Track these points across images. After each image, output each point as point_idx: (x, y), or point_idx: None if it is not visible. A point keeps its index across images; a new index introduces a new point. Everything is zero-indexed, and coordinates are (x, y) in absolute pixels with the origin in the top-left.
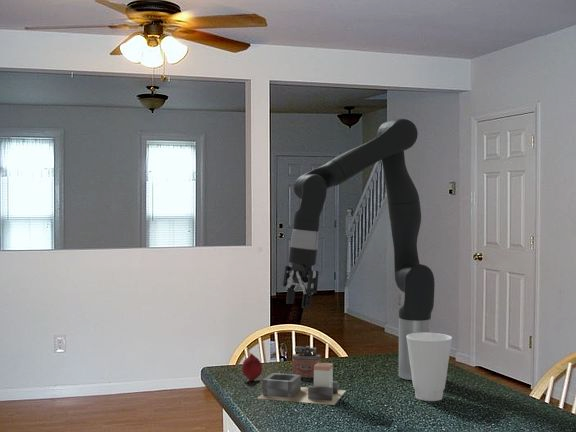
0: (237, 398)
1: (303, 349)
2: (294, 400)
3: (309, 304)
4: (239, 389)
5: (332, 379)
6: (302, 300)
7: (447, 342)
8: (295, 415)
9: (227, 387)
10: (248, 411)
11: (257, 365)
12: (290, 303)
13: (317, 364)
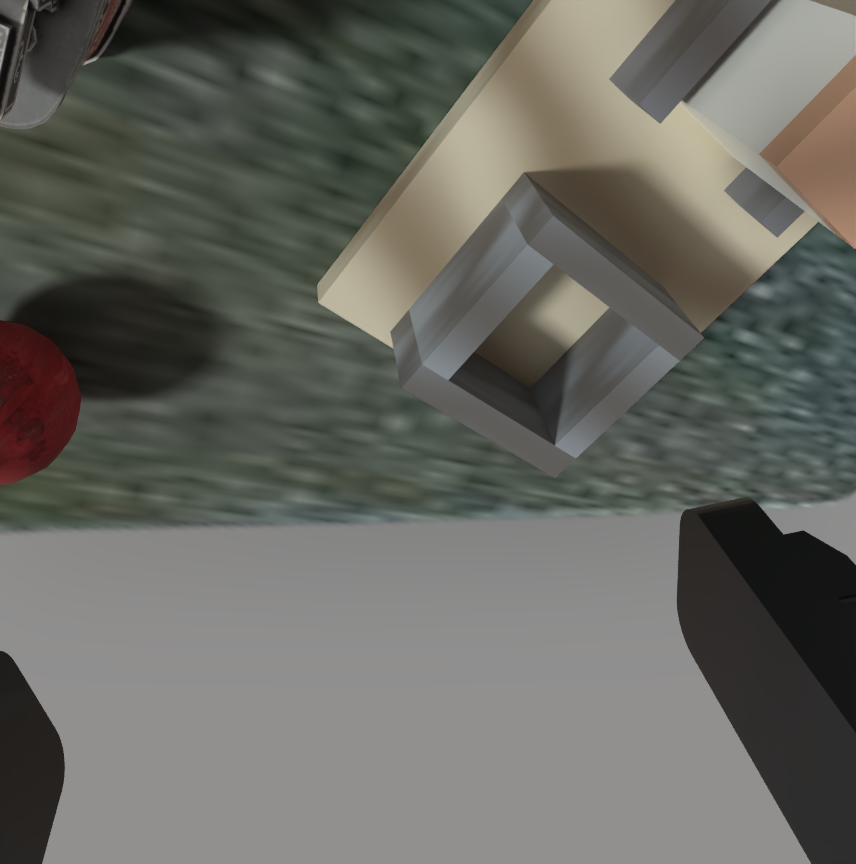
0: (414, 492)
1: (28, 19)
2: (719, 294)
3: (845, 579)
4: (232, 454)
5: (823, 8)
6: (763, 759)
7: None
8: (834, 321)
9: (169, 499)
10: (645, 488)
11: (53, 399)
12: (29, 704)
13: (836, 198)
